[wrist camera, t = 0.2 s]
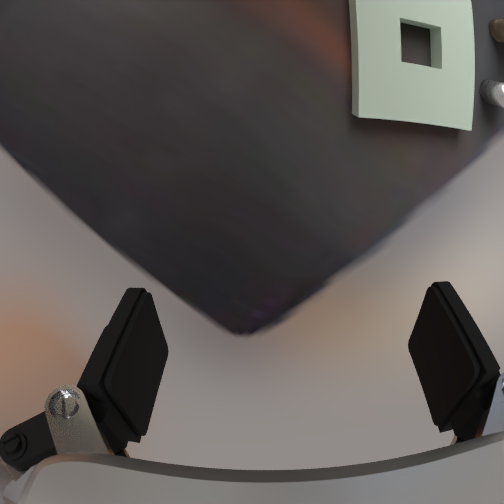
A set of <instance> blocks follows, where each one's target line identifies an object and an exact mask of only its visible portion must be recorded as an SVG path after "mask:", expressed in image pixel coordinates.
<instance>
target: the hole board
mask: <svg viewBox="0 0 504 504" xmlns="http://www.w3.org/2000/svg"><path fill="white" fill-rule="evenodd" d="M349 12H350V29H351V53H352V114H353V115H355V116H357V117H361V118H375V119H388V120H398V121H408V122H416V123H424V124H432V125H439V126H445V127H452V128H458V129H464V130H469V131H471V128H472V117H473V103H474V79H475V52H474V29H473V15H472V5H471V0H349ZM400 23H405V24H410V25H414V26H419V27H423V28H428V29H430V46H431V67H428V66H423V65H417V64H412V63H406V62H401V32H400Z"/></svg>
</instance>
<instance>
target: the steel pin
mask: <svg viewBox="0 0 504 504" xmlns="http://www.w3.org/2000/svg"><path fill="white" fill-rule="evenodd" d="M480 95H481V97H482V99H483V100H484V101H485V102H487V103H490V104H493V105H497V106H500V107H503V108H504V83H503V82H498V81H493V80H483V81H482V82H481V84H480Z"/></svg>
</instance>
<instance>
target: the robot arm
mask: <svg viewBox="0 0 504 504" xmlns="http://www.w3.org/2000/svg"><path fill="white" fill-rule="evenodd" d="M408 348H409V352H410V355H411V357H412V360H413V363H414V365H415V368H416V371H417V374H418V376H419V380H420V382H421V385H422V388H423V391H424V394H425V397H426V400H427V404H428V407H429V410H430V413H431V416H432V420H433V422H434V424H435V425H436V426H438V428H439V431H440V433H441V432H445V431H449V430H452V429H453V430H454V434H455V435H454V438H453V440H452V442H451V444H450V446H447V447H442V448H438V449H435V450H431V451H426V452H422V453H418V454H414V455H409V456H404V457H399V458H394V459H389V460H384V461H377V462H371V463H364V464H356V465H349V466H340V467H330V468H319V469H302V470H231V469H215V468H202V467H193V466H183V465H175V464H167V463H160V462H153V461H147V460H141V459H135V458H130V456H129V454H128V453H127V451H126V449H125V448H126V447H127V443H128V441H132V442H137V443H140V439H141V436H145V435H146V433H147V430H148V426H149V422H150V418H151V414H152V411H153V407H154V403H155V399H156V396H157V392H158V389H159V385H160V382H161V378H162V374H163V370H164V367H165V364H166V361H167V357H168V346H167V343H166V340H165V337H164V334H163V330H162V327H161V324H160V321H159V318H158V315H157V311H156V308H155V305H154V301H153V298H152V295H151V293H149V292H147V291H146V290H145V288H128V289H127V290H126V292H125V294H124V296H123V297H122V299H121V301H120V303H119V305H118V307H117V309H116V311H115V313H114V314H113V316H112V318H111V320H110V322H109V324H108V325H107V326H106V327H105V328H104V330H103V332H102V334H101V336H100V338H99V340H98V342H97V344H96V346H95V348H94V350H93V352H92V355H91V357H90V359H89V361H88V363H87V365H86V367H85V369H84V372H83V373H82V376H81V378H80V380H79V382H78V384H77V387H75V386H72V385H64V386H61V387H58V388H56V389H55V390H53V391H52V392H51V393H50V394H49V396H48V398H47V399H46V402H45V411H44V412H42V413H40V414H38V415H37V416H34V417H33V418H31V419H29V420H27V421H25V422H23V423H21V424H19V425H17V426H15V427H13V428H11V429H9V430H7V431H6V432H5V433H4V434H3V435H2V437H1V439H0V504H504V373H502V374H500V372H499V369H500V367H499V365H498V363H497V361H496V359H495V357H494V355H493V353H492V351H491V350H490V348H489V346H488V344H487V342H486V340H485V339H484V337H483V335H482V334H481V332H480V330H479V328H478V326H477V325H476V323H475V321H474V320H473V318H472V317H471V315H470V313H469V311H468V310H467V308H466V307H465V305H464V304H463V302H462V300H461V299H460V297H459V296H458V294H457V292H456V291H455V289H454V288H453V286H452V285H451V284H450V282H448V281H444V282H434V283H433V284H432V285H431V287H429V288H428V289H427V291H426V294H425V297H424V301H423V304H422V306H421V309H420V312H419V315H418V318H417V320H416V323H415V326H414V329H413V331H412V334H411V336H410V339H409V343H408Z"/></svg>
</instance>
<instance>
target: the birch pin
mask: <svg viewBox="0 0 504 504" xmlns="http://www.w3.org/2000/svg"><path fill="white" fill-rule="evenodd" d="M489 31H490V34H491V35H492V37H493V38H494V39H495V40H496V41H498V42H504V19H498V20H491V21H490V23H489Z"/></svg>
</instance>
